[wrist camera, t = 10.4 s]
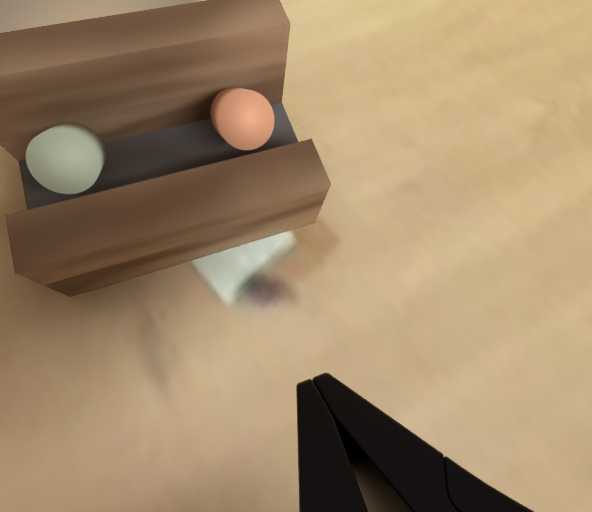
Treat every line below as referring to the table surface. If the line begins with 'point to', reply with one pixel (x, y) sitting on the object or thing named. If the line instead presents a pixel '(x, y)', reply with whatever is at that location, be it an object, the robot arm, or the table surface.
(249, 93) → the terracotta button
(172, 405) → the table surface
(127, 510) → the table surface
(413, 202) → the table surface
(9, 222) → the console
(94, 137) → the sage button
